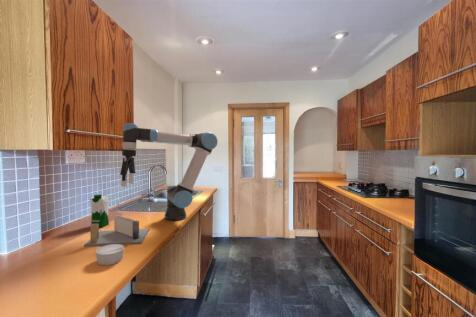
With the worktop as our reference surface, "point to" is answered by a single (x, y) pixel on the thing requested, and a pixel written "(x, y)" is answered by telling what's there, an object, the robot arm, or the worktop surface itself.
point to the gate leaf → (123, 225)
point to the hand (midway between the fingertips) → (127, 185)
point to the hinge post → (135, 229)
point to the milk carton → (99, 210)
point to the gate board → (117, 238)
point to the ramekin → (109, 254)
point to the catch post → (94, 233)
